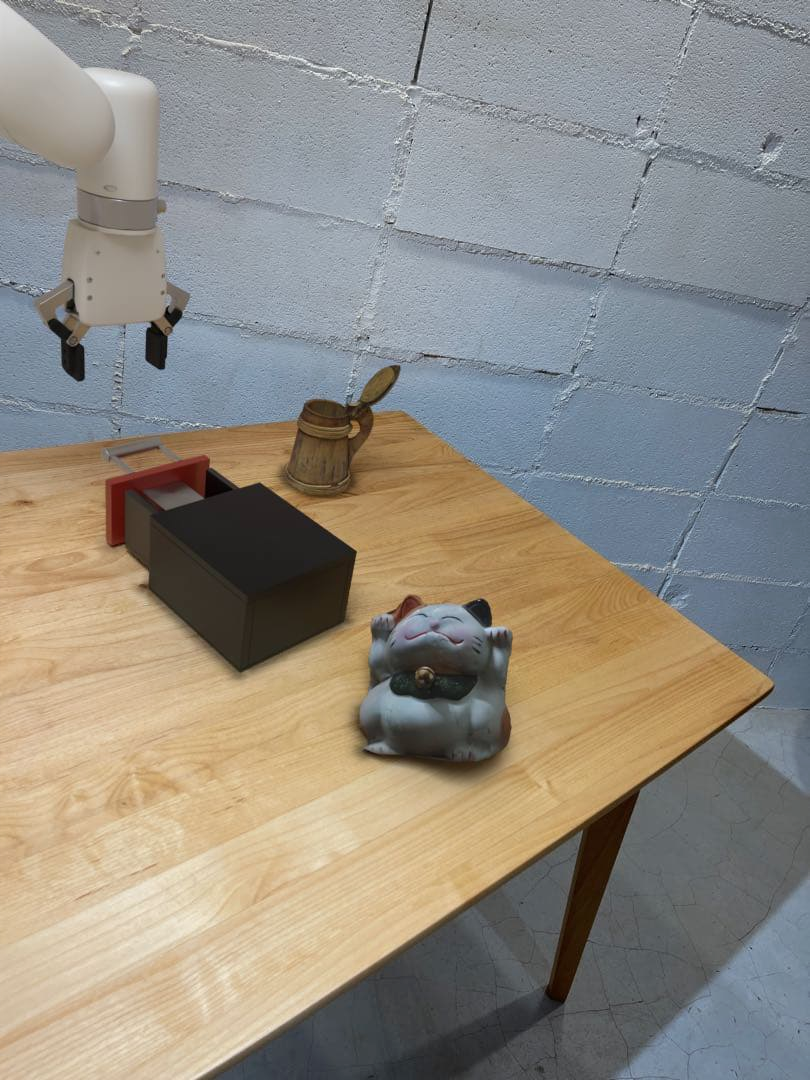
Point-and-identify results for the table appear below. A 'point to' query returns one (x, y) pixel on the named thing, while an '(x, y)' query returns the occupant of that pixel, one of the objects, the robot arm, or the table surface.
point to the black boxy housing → (249, 573)
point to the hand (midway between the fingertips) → (116, 370)
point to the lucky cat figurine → (437, 682)
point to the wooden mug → (334, 437)
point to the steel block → (170, 496)
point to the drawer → (125, 492)
